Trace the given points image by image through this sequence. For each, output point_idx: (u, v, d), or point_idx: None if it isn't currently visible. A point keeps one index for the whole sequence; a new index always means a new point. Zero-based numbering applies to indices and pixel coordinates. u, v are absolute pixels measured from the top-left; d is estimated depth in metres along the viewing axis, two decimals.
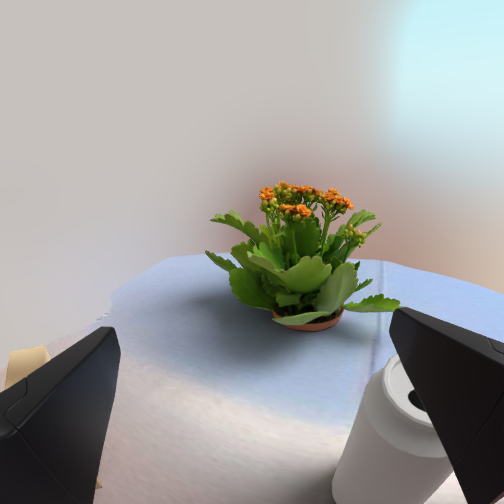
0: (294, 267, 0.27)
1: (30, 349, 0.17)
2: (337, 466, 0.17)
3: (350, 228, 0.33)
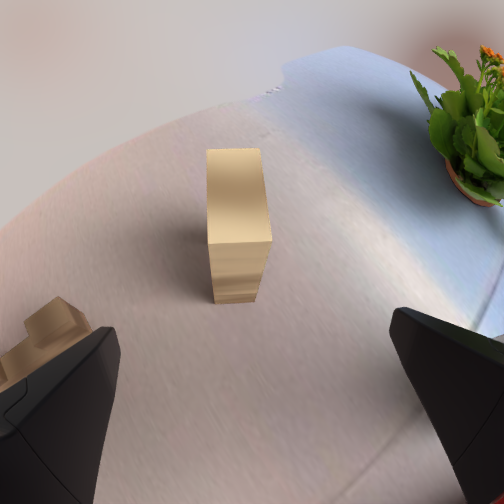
0: None
1: (238, 150, 0.17)
2: None
3: None
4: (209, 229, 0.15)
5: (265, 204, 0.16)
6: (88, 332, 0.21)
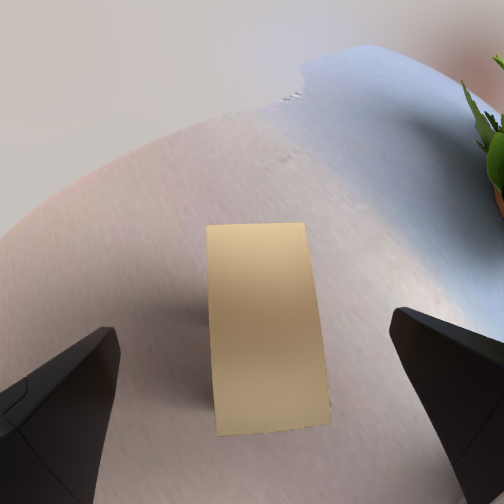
0: None
1: (266, 228, 0.10)
2: None
3: None
4: (217, 408, 0.07)
5: (319, 350, 0.08)
6: None
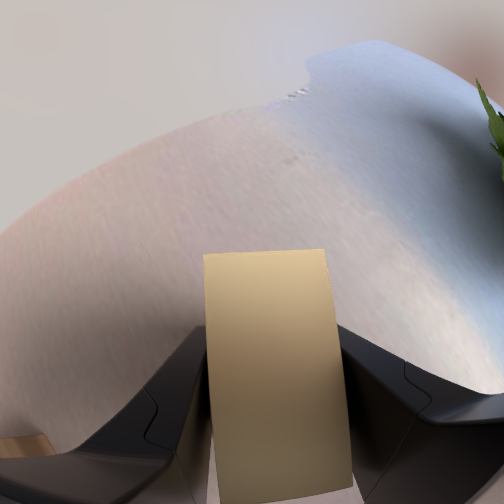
0: None
1: (278, 256, 0.08)
2: None
3: None
4: (220, 476, 0.05)
5: (342, 408, 0.06)
6: None
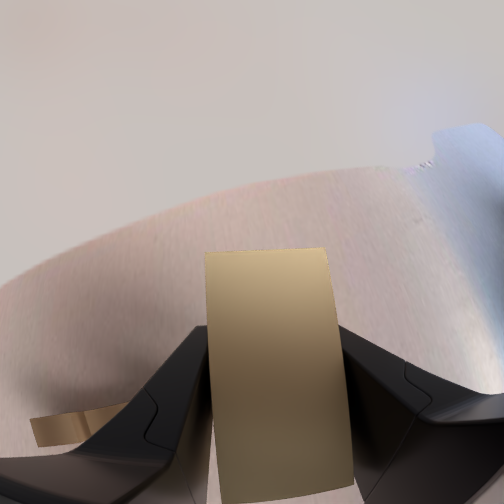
0: None
1: (279, 255, 0.08)
2: None
3: None
4: (222, 475, 0.05)
5: (343, 406, 0.06)
6: None
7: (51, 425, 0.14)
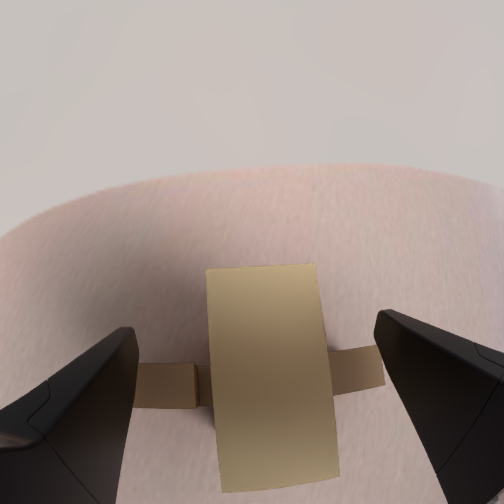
0: None
1: (272, 271, 0.09)
2: None
3: None
4: (222, 466, 0.06)
5: (330, 406, 0.07)
6: None
7: (153, 378, 0.12)
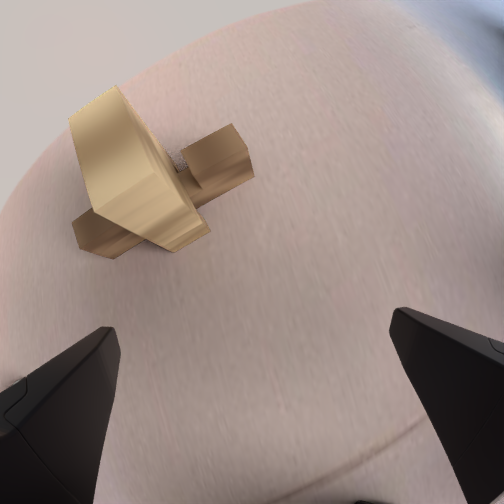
0: None
1: (96, 100, 0.13)
2: None
3: None
4: (90, 196, 0.12)
5: (135, 137, 0.12)
6: (251, 173, 0.21)
7: (93, 216, 0.18)
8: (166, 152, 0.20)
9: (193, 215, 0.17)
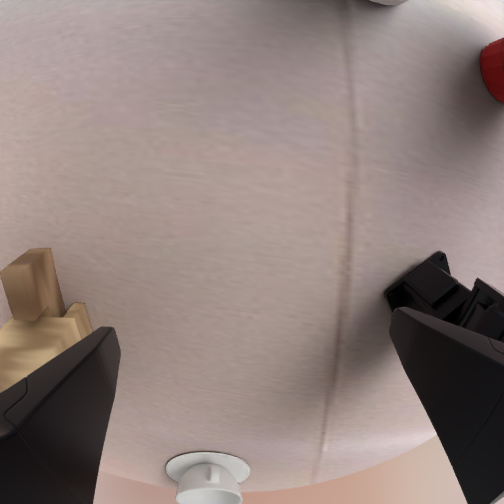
0: None
1: None
2: None
3: None
4: None
5: (3, 388, 0.12)
6: (46, 253, 0.19)
7: None
8: None
9: (65, 332, 0.17)
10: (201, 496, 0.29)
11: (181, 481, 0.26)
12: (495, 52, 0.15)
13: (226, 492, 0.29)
